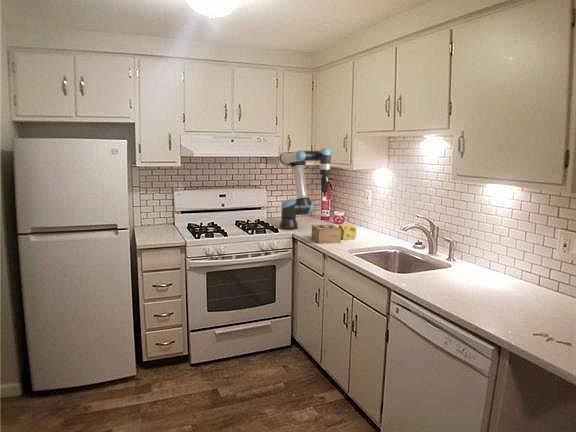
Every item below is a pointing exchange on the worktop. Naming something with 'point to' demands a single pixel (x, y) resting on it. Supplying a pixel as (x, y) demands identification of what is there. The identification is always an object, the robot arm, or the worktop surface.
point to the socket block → (326, 234)
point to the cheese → (348, 232)
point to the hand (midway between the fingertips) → (324, 200)
